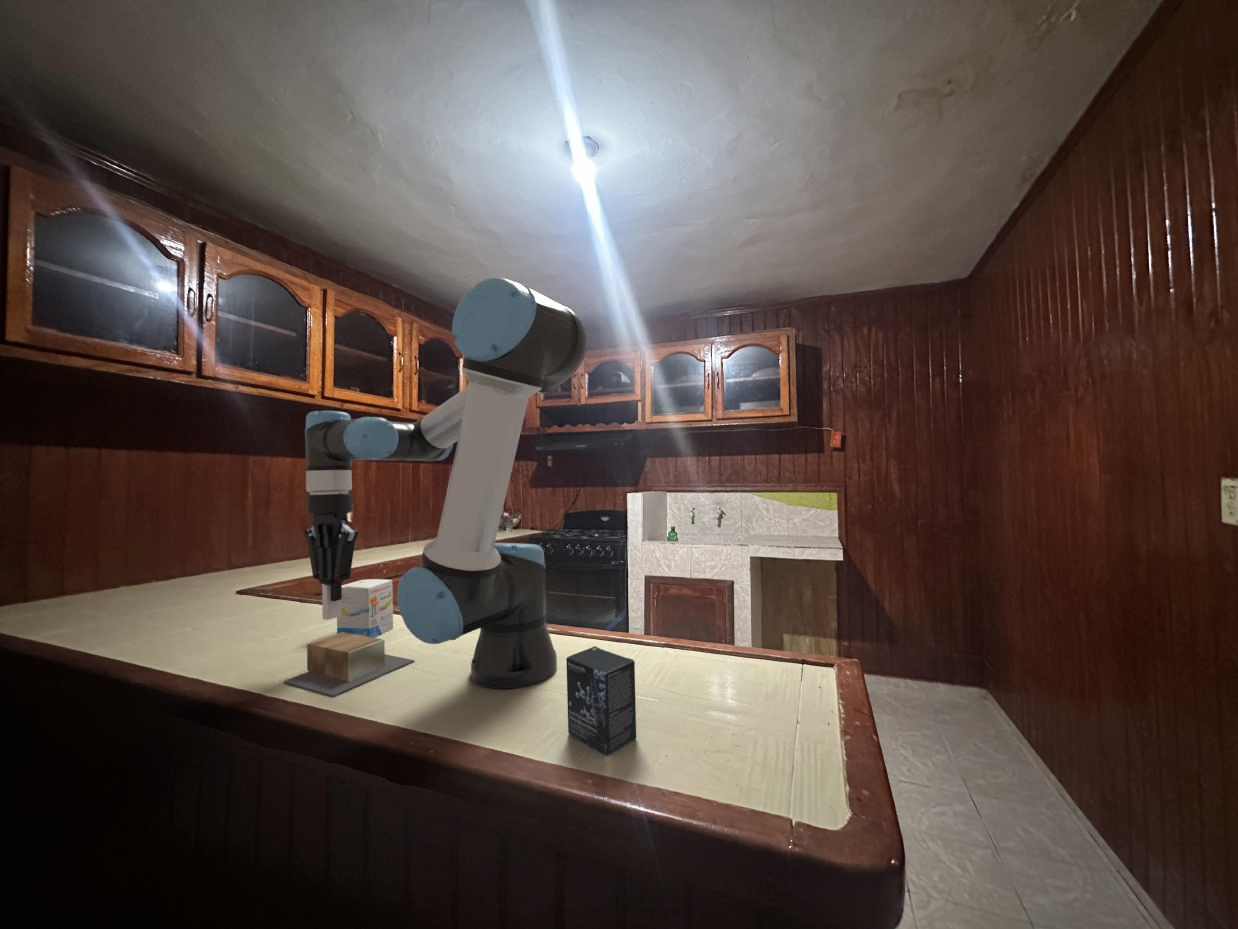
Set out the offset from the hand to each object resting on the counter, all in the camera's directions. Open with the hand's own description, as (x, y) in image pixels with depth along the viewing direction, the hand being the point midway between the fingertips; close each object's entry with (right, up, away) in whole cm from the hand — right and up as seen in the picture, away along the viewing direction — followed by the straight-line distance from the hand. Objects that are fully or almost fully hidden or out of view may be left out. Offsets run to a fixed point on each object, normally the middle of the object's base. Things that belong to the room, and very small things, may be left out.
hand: (332, 617), depth 92 cm
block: (-2, -7, +1) cm, 7 cm away
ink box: (-4, -10, +20) cm, 23 cm away
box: (+52, -8, -27) cm, 59 cm away
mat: (+5, -9, -3) cm, 11 cm away
